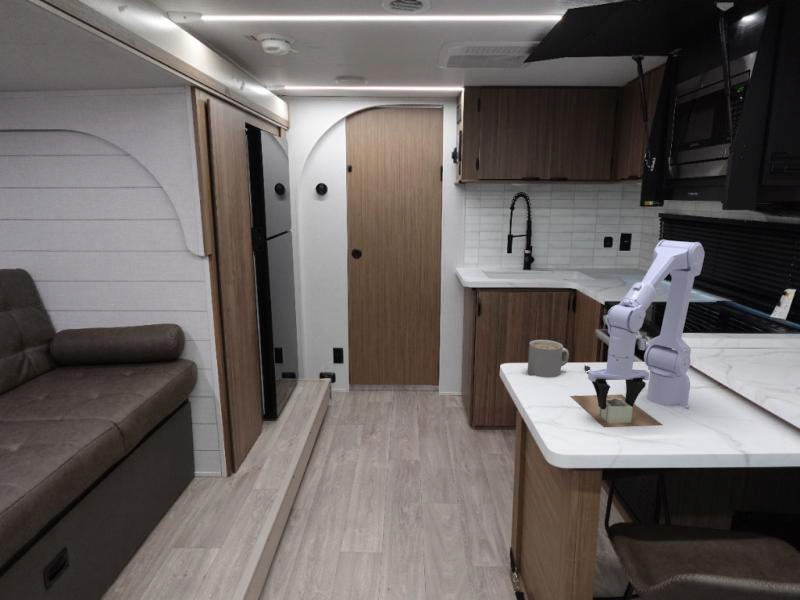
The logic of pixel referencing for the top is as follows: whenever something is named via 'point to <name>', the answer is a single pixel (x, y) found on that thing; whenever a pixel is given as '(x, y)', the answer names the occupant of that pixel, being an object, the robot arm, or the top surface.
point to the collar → (616, 412)
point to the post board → (593, 412)
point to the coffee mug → (546, 358)
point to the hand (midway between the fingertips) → (615, 407)
